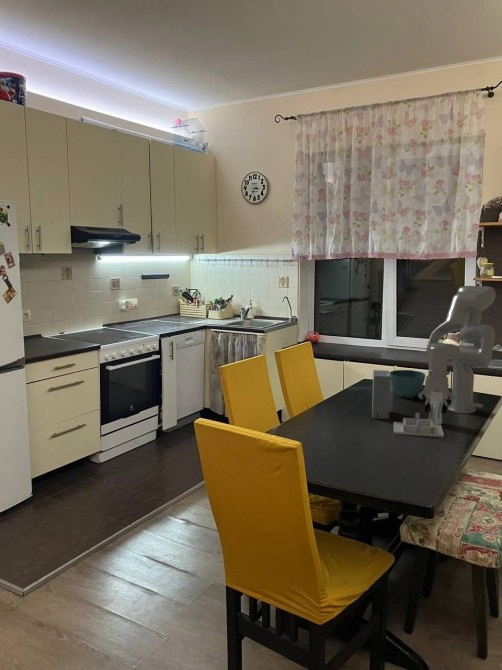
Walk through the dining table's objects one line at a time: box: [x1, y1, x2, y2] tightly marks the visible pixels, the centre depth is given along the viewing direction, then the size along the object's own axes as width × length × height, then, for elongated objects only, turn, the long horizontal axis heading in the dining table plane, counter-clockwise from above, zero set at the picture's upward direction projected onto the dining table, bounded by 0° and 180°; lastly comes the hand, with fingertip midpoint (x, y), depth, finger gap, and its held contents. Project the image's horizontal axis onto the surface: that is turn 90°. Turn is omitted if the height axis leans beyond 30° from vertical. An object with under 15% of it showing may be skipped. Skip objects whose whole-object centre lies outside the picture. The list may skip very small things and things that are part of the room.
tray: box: [393, 412, 445, 438], centre depth 237 cm, size 20×14×6 cm
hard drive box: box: [371, 369, 391, 420], centre depth 260 cm, size 16×8×20 cm, turn 168°
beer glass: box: [428, 391, 444, 426], centre depth 247 cm, size 7×7×15 cm
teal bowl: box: [389, 369, 426, 399], centre depth 296 cm, size 18×18×12 cm
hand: (435, 412), depth 247 cm, fingers closed on beer glass, 6 cm apart
